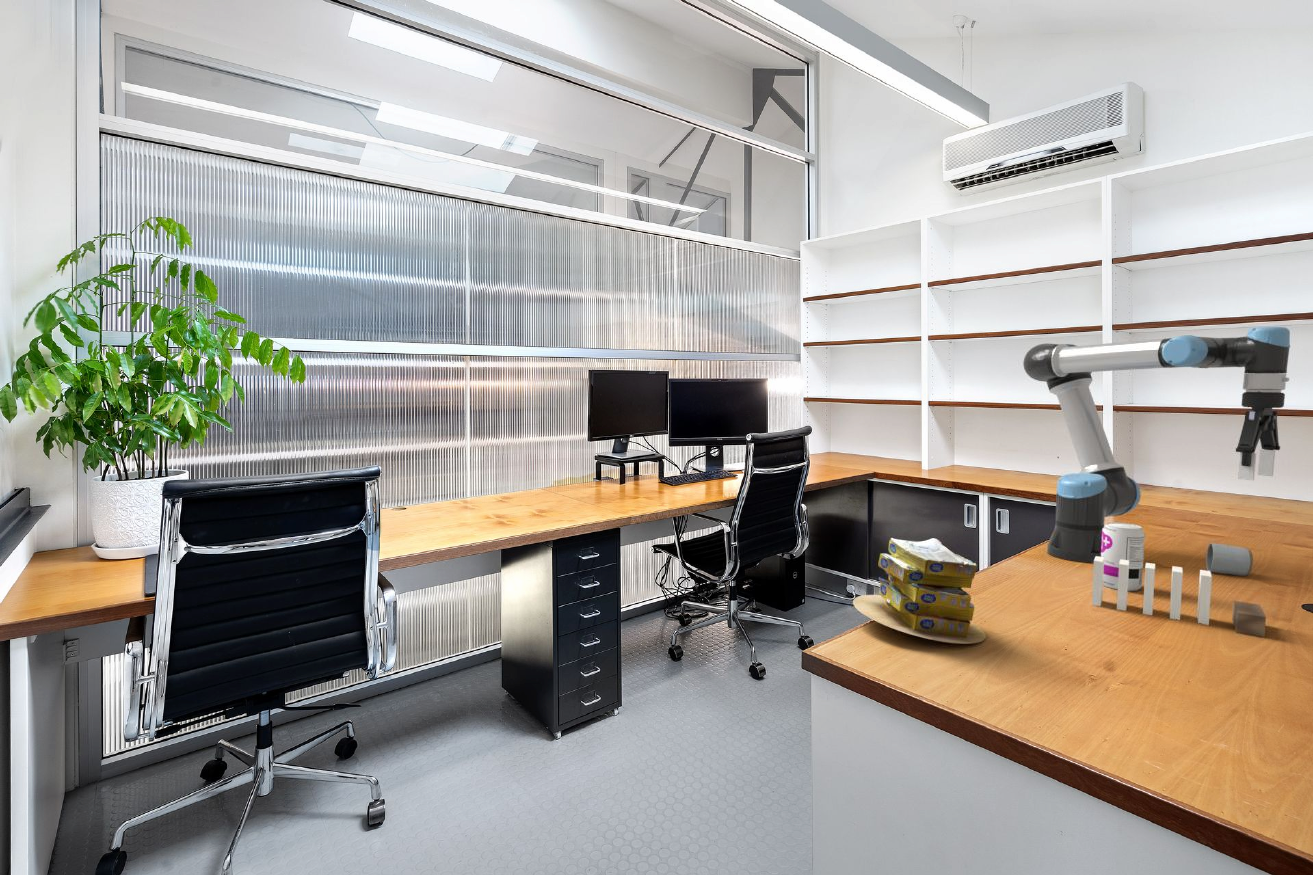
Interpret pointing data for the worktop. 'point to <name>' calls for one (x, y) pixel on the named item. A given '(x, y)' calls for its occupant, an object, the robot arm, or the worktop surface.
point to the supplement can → (1122, 553)
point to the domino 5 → (1204, 597)
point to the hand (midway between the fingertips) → (1255, 477)
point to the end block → (1249, 619)
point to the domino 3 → (1149, 588)
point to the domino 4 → (1176, 592)
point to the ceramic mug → (1229, 559)
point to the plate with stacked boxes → (924, 593)
